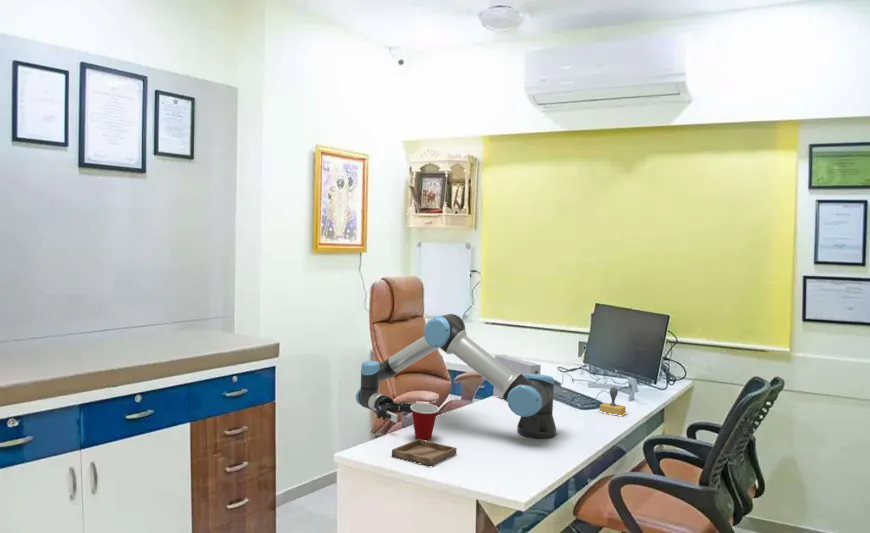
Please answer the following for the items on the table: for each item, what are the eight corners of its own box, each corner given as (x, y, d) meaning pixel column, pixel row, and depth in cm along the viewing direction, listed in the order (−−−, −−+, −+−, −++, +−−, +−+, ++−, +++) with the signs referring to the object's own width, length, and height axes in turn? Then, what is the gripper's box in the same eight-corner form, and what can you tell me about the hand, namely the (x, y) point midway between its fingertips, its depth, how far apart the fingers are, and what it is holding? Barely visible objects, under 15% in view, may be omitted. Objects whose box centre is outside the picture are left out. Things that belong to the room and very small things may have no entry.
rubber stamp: (625, 414, 294) (626, 387, 294) (620, 417, 289) (622, 389, 289) (604, 410, 300) (605, 384, 299) (599, 412, 295) (600, 386, 295)
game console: (502, 395, 321) (504, 354, 321) (539, 408, 298) (541, 364, 297) (493, 396, 318) (494, 355, 318) (529, 409, 295) (531, 365, 294)
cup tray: (456, 454, 229) (456, 447, 229) (431, 467, 216) (431, 459, 216) (418, 445, 238) (418, 438, 238) (391, 456, 224) (391, 449, 224)
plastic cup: (416, 444, 239) (418, 411, 238) (404, 436, 248) (405, 404, 248) (443, 441, 244) (444, 409, 243) (430, 433, 253) (431, 402, 253)
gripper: (406, 409, 277) (437, 421, 260) (354, 417, 261) (383, 430, 245) (407, 391, 276) (437, 403, 259) (355, 398, 261) (384, 410, 244)
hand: (411, 416), depth 252 cm, fingers open, 13 cm apart
